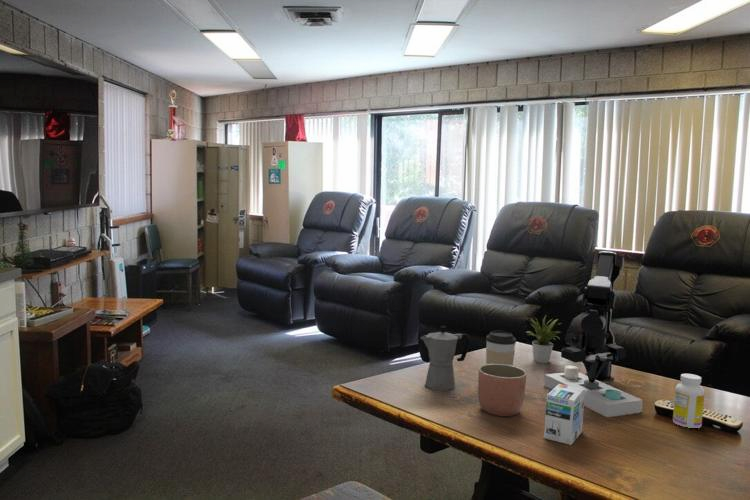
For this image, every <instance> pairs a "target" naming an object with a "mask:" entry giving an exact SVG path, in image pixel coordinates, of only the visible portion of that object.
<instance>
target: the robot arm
mask: <svg viewBox="0 0 750 500" xmlns="http://www.w3.org/2000/svg"><path fill="white" fill-rule="evenodd" d="M593 266H594V268H596V269H595V274H594V277H593V278H591V279H590V280H588V283H587V285H586V286H584V289H583V294H582V300H581V305H580V307H581V308H580V309H581V310H586V312H585V316H583V318H582V319H581V322H580V329H581V331H580V334H579V335H576V334H575V333H574V332H566V333H565V339H564V340H565V344H566V345H569V347H563V348H562V349H561V351H560V352H561V354H560V357H561V358H562V359H566V360H567V361H570V362H572V363H582V364H583V366H584V368H585V371H586V373H584V375H586V376H588V379H589V382H591V383H594V382H595V380H598V381H600V382H602V381H612V380H615V377H614V376H612V366H613V365H612V364H613V363H615V362H618V359H626V356H627V350H626V349H625V347H623V346H620V345H617V343H616V342H615V336H614V333H613V331H612V329H611V324H612V323H611V322H612V313H613V310H614V309H615V302H616V293H615V282H616V281H617V280H618V279H619V277H621V274H622V271H623V270H624V266H625V257H624V256H623V255H621V254H618V253H617V252H614V251H608V250H607V251H605V250H601V251H598V253H595V254H594V261H593Z"/></svg>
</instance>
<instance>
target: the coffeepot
mask: <svg viewBox="0 0 750 500" xmlns="http://www.w3.org/2000/svg"><path fill="white" fill-rule="evenodd" d="M446 328H447V326H445V325H442V326H440V331H437V332H431V333H430V332H429V333H428V334H425V335H422V336H420V339H421V340H422V341H423V342H424V344H425V346H426V348H427V350H428V358H429V365H428V370H427V372H426V380H425V384H424V386H425V387H426V386H427V387H426V388H428V387H429V388H428V389H430V388H431V389H430V390H433V389H434V391H438V390H441V392H444V391H445V392H447V390H448V391H452V390H454V389H455V388H456V379H455V371H454V370H455V369H454V364H453V363H454V362H453V361H454V359H455V353H456V348H457V342H460V341H464V344H463V348H462V351H461V356H460V357H457V358H456V360H457V362H463V361H464V360H465V359H466V356H467V354H468V351H469V348H470V346H471V343H472V338H470V336H469V335H468V334H467V333H455V334H453V333H451V332H450V333H449V332H446Z"/></svg>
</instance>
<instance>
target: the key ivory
mask: <svg viewBox="0 0 750 500" xmlns="http://www.w3.org/2000/svg"><path fill="white" fill-rule="evenodd" d="M563 373H564V378H565V379H567V380H570V381H572V380H578V374H579V373H580V368H579V366H575V365H565V366H564V372H563Z"/></svg>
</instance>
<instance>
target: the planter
mask: <svg viewBox="0 0 750 500" xmlns="http://www.w3.org/2000/svg"><path fill="white" fill-rule="evenodd" d="M527 376H528V374H527V371H526V370H524V369H523V368H521V367H517V366H514V365H513V366H511V365H504V364H487V365H486V364H484V365H480V366H479V367H478V375H477V377H478V378H477V379H478V380H477V381H478V384H477V394H478V395H477V398H478V404H479V406H480V408H481V409H482V411H484V412H486V413H488V414H491V415H493V416H499V417H511V416H514V415H515V416H516V415H518V413H520V412H521V410H522V408H523V405H524V399H525V395H526V394H525V393H526V385H527V384H526V383H527Z"/></svg>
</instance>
